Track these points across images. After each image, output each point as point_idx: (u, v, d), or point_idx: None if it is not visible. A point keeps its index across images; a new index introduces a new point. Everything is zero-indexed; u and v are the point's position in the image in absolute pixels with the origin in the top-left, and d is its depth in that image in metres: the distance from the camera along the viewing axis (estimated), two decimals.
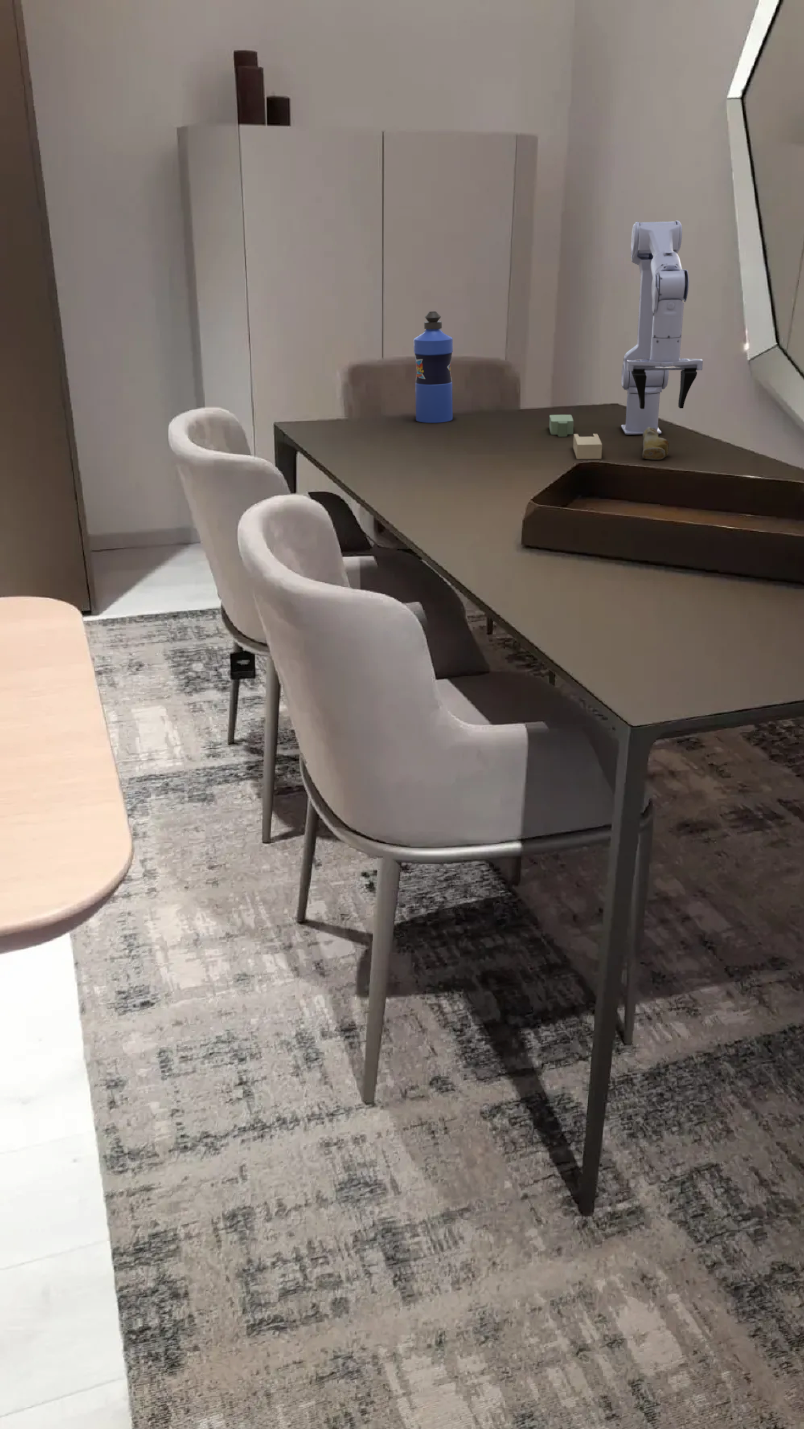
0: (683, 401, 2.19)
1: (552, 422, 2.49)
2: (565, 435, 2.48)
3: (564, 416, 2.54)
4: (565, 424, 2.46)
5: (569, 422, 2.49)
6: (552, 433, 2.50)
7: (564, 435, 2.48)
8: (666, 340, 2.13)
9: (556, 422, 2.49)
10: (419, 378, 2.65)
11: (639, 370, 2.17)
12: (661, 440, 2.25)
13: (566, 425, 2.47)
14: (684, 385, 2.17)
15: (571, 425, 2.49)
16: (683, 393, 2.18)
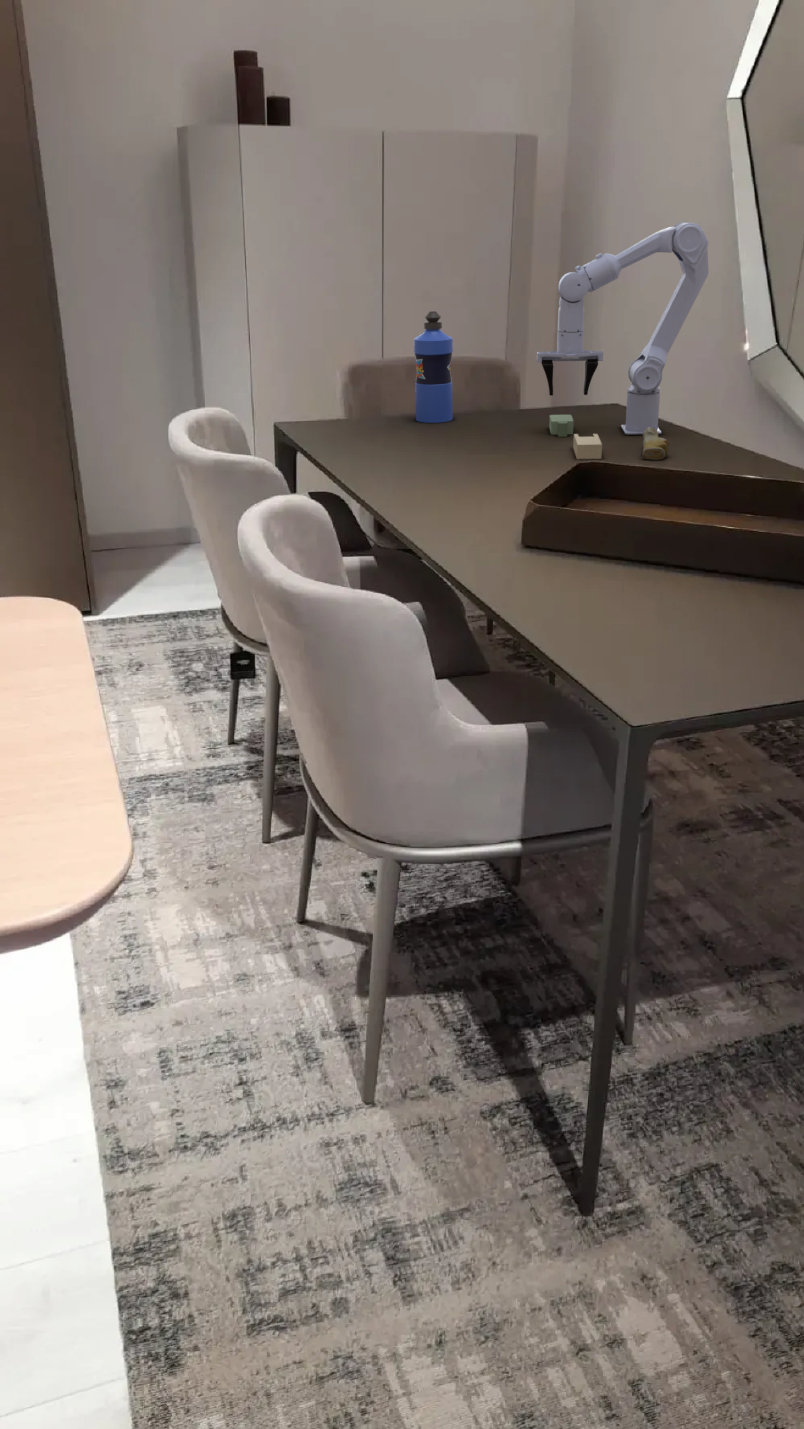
0: (587, 388, 2.46)
1: (552, 422, 2.49)
2: (565, 435, 2.48)
3: (564, 416, 2.54)
4: (565, 424, 2.46)
5: (569, 422, 2.49)
6: (552, 433, 2.50)
7: (564, 435, 2.48)
8: (569, 334, 2.40)
9: (556, 422, 2.49)
10: (419, 378, 2.65)
11: (547, 361, 2.44)
12: (661, 440, 2.25)
13: (566, 425, 2.47)
14: (587, 374, 2.44)
15: (571, 425, 2.49)
16: (586, 381, 2.45)
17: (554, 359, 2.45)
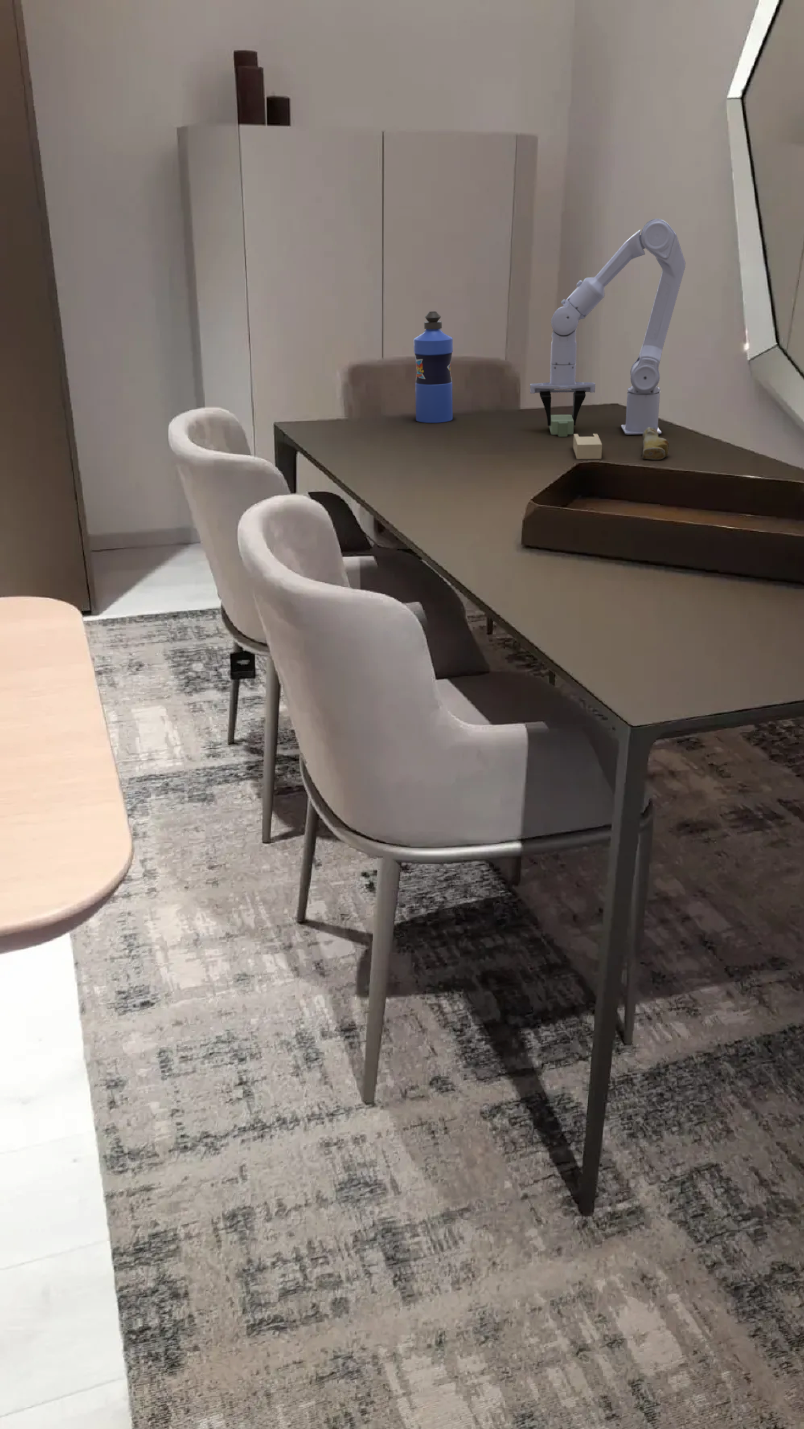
0: (575, 419, 2.51)
1: (552, 422, 2.49)
2: (565, 435, 2.48)
3: (564, 416, 2.54)
4: (565, 424, 2.46)
5: (569, 422, 2.49)
6: (552, 433, 2.50)
7: (564, 435, 2.48)
8: (562, 366, 2.45)
9: (556, 422, 2.49)
10: (419, 378, 2.65)
11: (545, 392, 2.49)
12: (661, 440, 2.25)
13: (566, 425, 2.47)
14: (575, 405, 2.49)
15: (571, 425, 2.49)
16: (574, 412, 2.50)
17: (552, 390, 2.50)
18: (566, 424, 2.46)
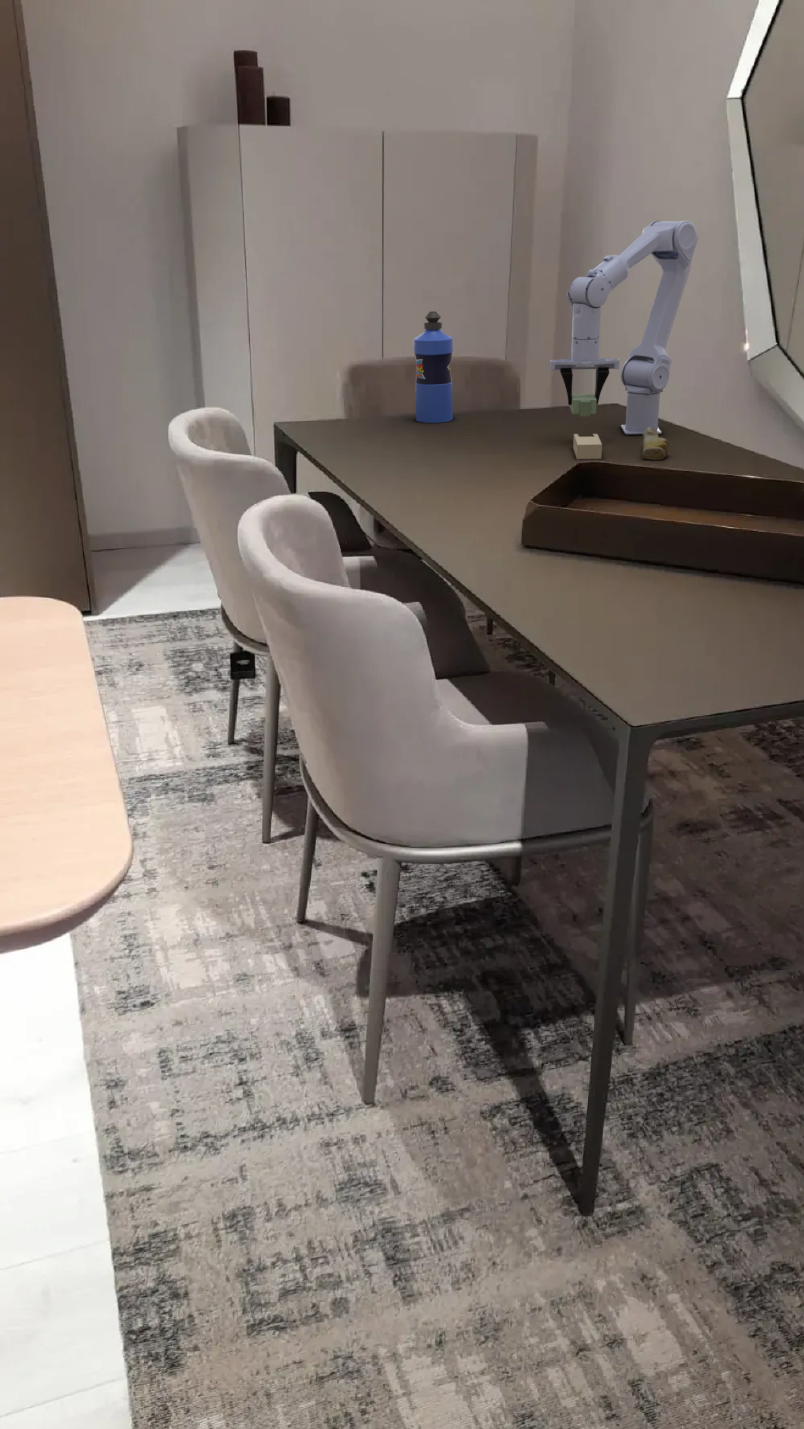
0: (597, 398, 2.36)
1: (574, 401, 2.34)
2: (588, 414, 2.32)
3: (586, 395, 2.38)
4: (588, 403, 2.31)
5: (592, 401, 2.33)
6: (573, 413, 2.35)
7: (586, 414, 2.32)
8: (584, 341, 2.30)
9: (578, 401, 2.34)
10: (419, 378, 2.65)
11: (566, 369, 2.34)
12: (661, 440, 2.25)
13: (589, 404, 2.31)
14: (598, 383, 2.34)
15: (594, 404, 2.34)
16: (597, 390, 2.35)
17: (573, 367, 2.34)
18: (589, 403, 2.31)
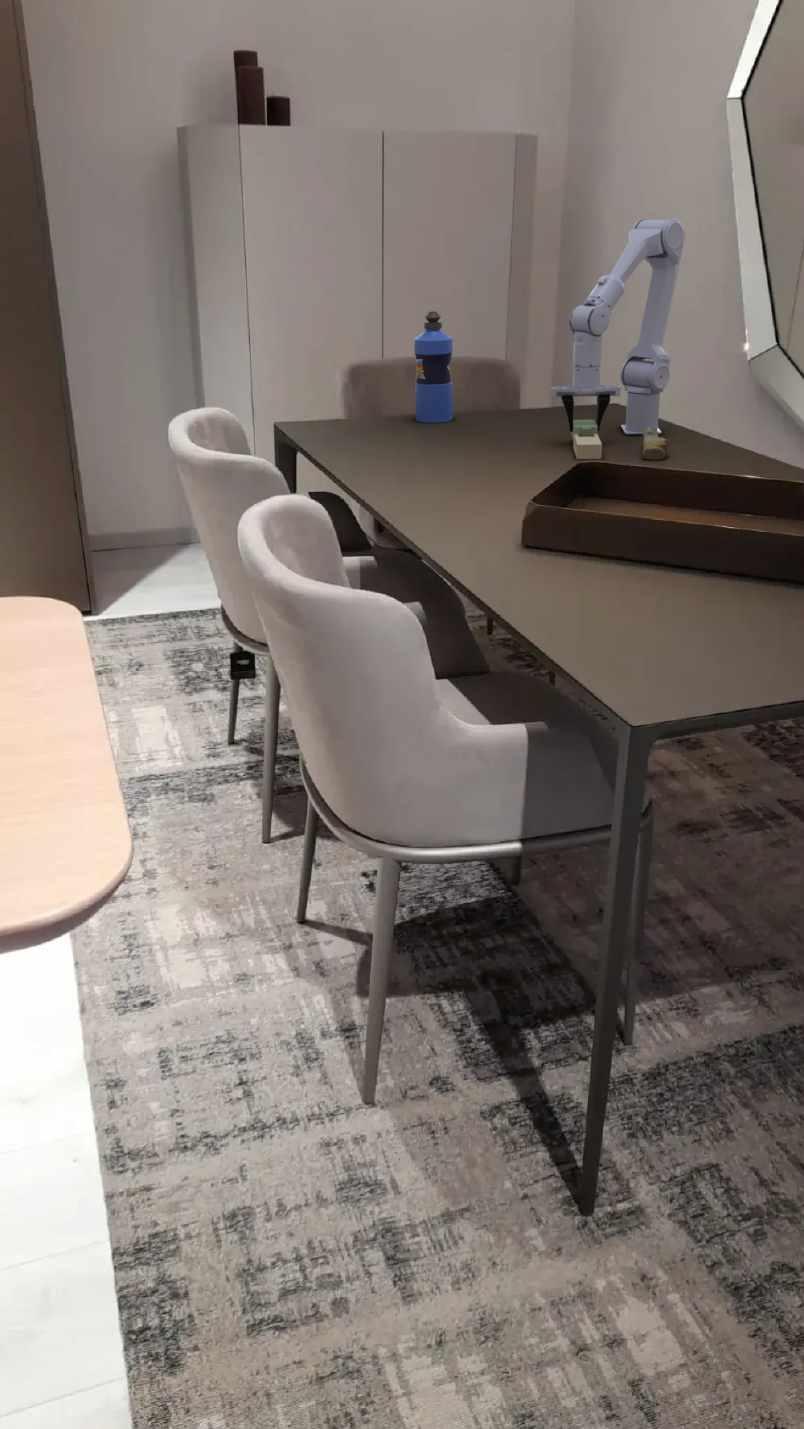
0: (598, 425, 2.37)
1: (575, 428, 2.35)
2: None
3: (587, 421, 2.40)
4: (589, 430, 2.32)
5: (593, 428, 2.35)
6: None
7: None
8: (585, 369, 2.31)
9: (579, 428, 2.35)
10: (419, 378, 2.65)
11: (567, 396, 2.35)
12: (661, 440, 2.25)
13: (590, 431, 2.32)
14: (599, 410, 2.35)
15: (595, 431, 2.35)
16: (598, 417, 2.36)
17: (574, 394, 2.35)
18: (590, 430, 2.32)
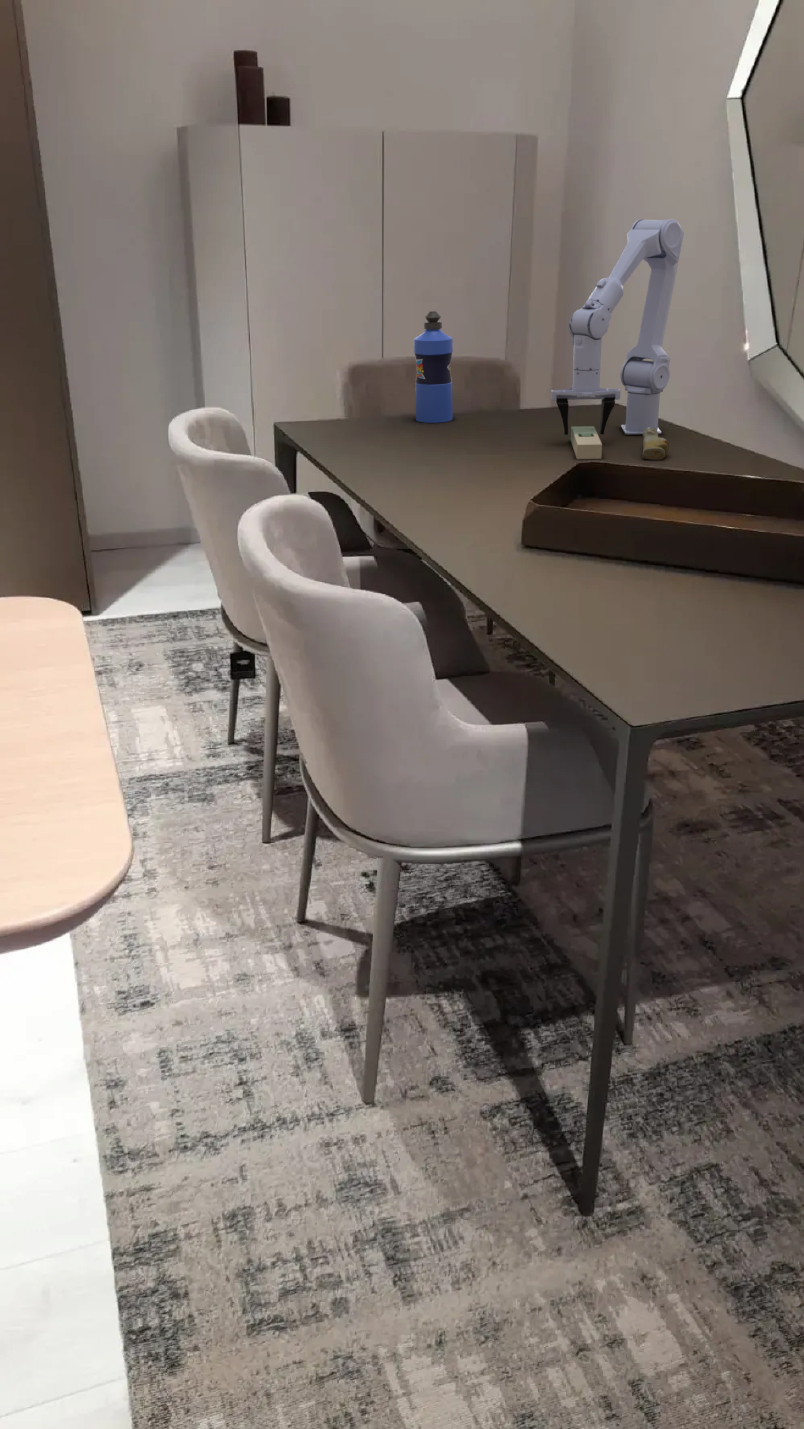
0: (603, 428, 2.37)
1: None
2: None
3: (587, 428, 2.40)
4: None
5: (592, 435, 2.35)
6: None
7: None
8: (585, 372, 2.31)
9: (579, 435, 2.35)
10: (419, 378, 2.65)
11: (562, 399, 2.35)
12: (661, 440, 2.25)
13: None
14: (603, 413, 2.35)
15: None
16: (603, 420, 2.36)
17: (569, 397, 2.36)
18: None
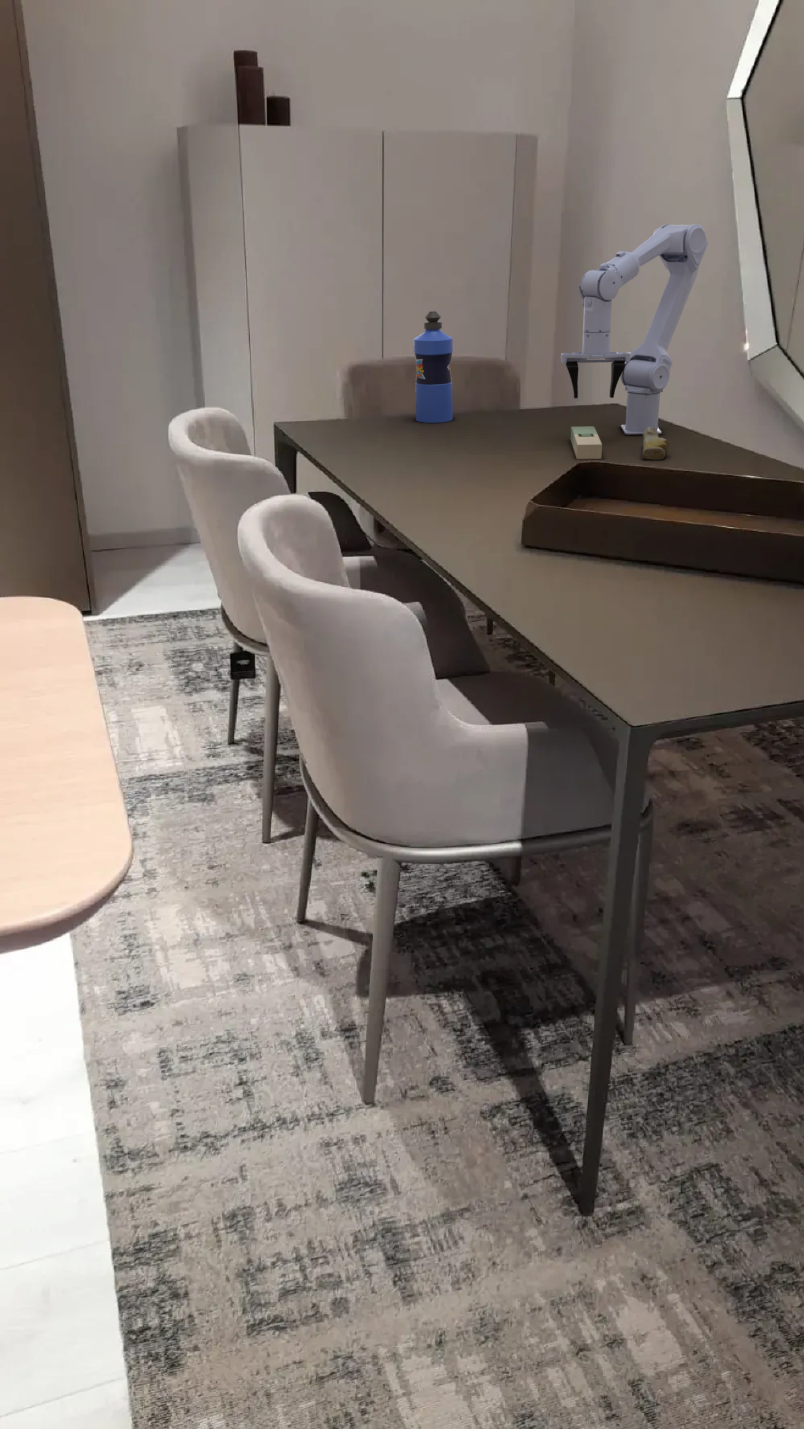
0: (613, 391, 2.36)
1: None
2: None
3: (587, 428, 2.40)
4: None
5: (592, 435, 2.35)
6: None
7: None
8: (595, 334, 2.30)
9: (579, 435, 2.35)
10: (419, 378, 2.65)
11: (572, 362, 2.35)
12: (661, 440, 2.25)
13: None
14: (613, 376, 2.34)
15: None
16: (613, 384, 2.35)
17: (579, 360, 2.35)
18: None
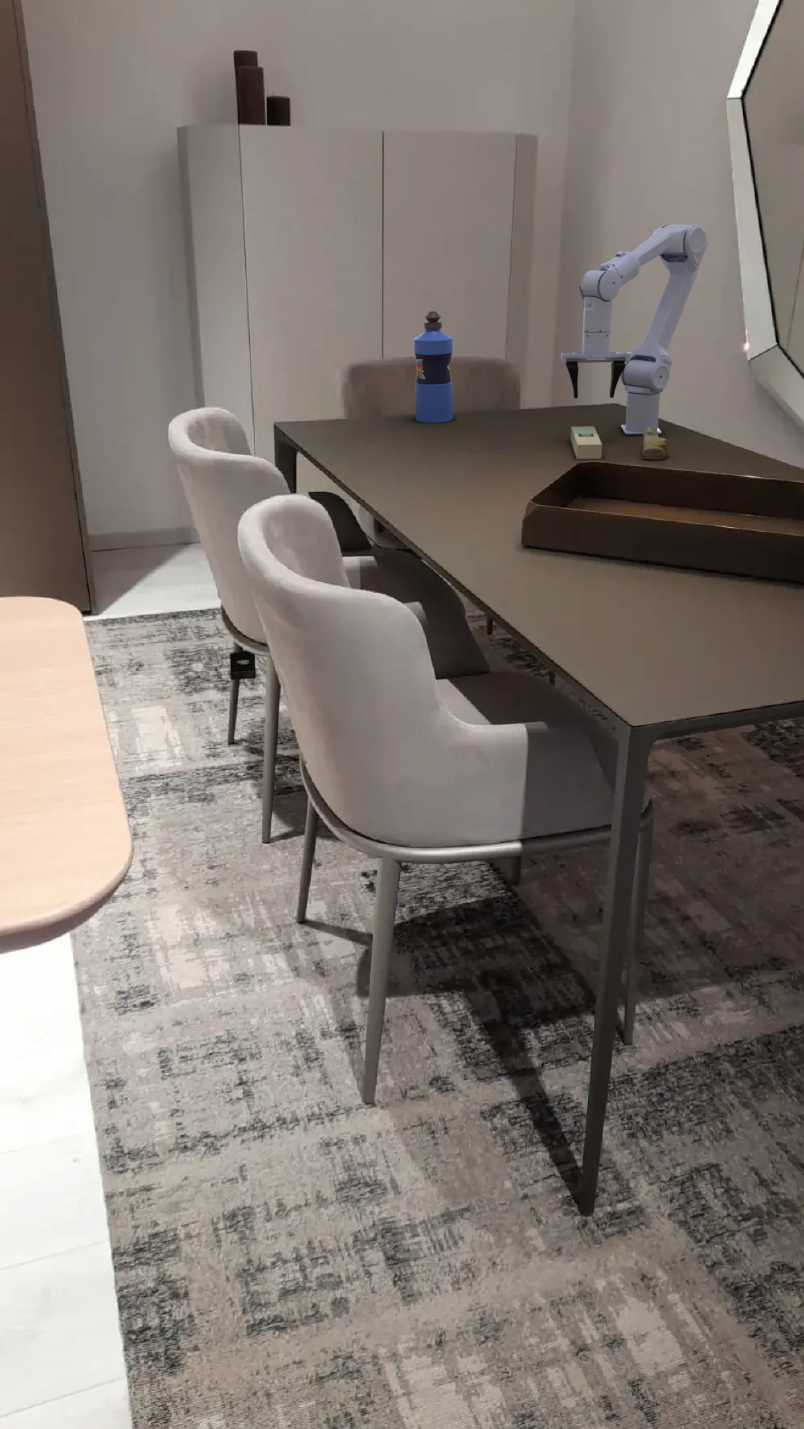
0: (613, 391, 2.36)
1: None
2: None
3: (587, 428, 2.40)
4: None
5: (592, 435, 2.35)
6: None
7: None
8: (595, 334, 2.30)
9: (579, 435, 2.35)
10: (419, 378, 2.65)
11: (572, 362, 2.35)
12: (661, 440, 2.25)
13: None
14: (613, 376, 2.34)
15: None
16: (613, 384, 2.35)
17: (579, 360, 2.35)
18: None
